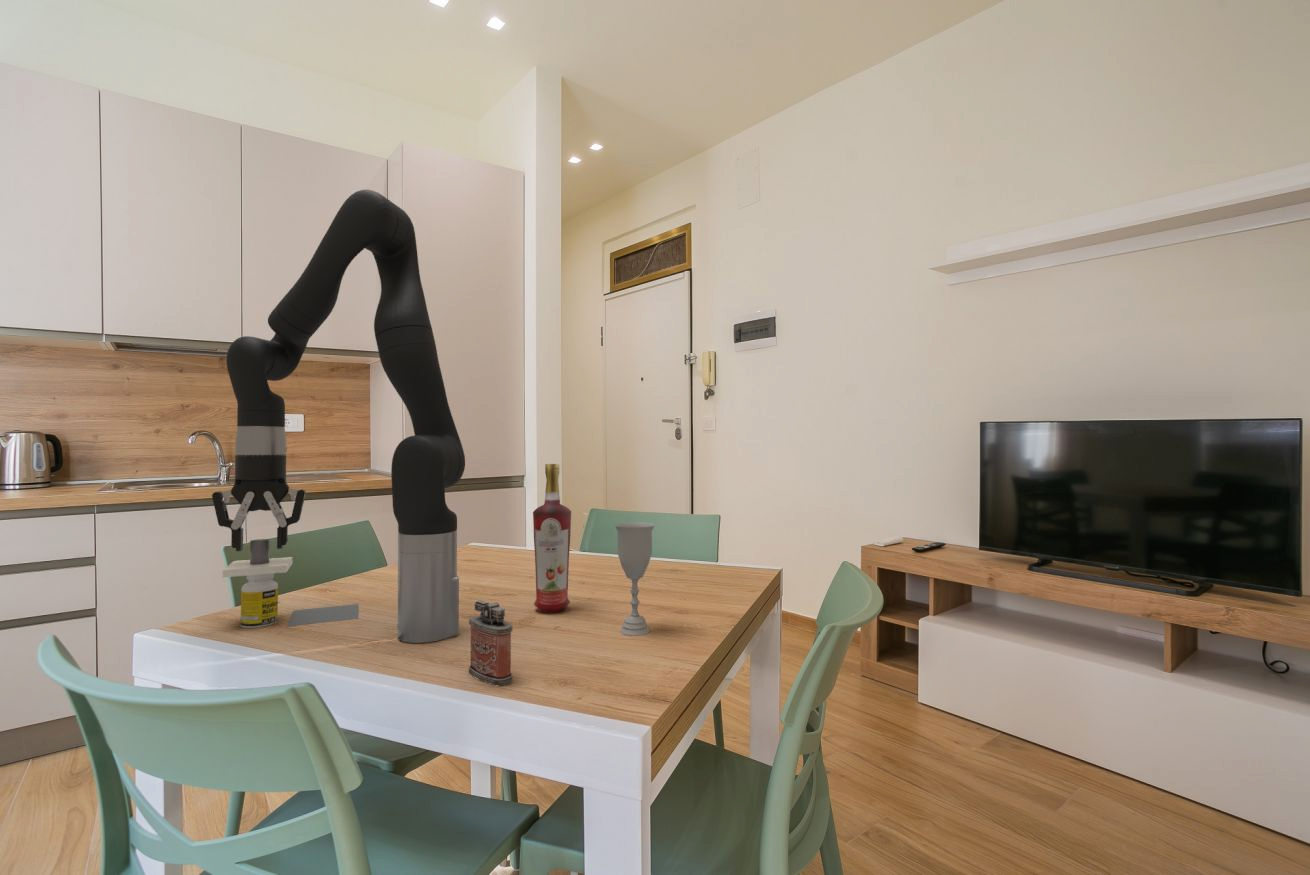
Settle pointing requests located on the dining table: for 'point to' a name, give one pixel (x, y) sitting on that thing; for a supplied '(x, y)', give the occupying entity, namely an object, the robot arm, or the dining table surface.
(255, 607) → the supplement bottle
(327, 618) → the mat
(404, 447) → the robot arm
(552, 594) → the liquor
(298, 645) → the dining table surface
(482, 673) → the lighter
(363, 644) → the dining table surface
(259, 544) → the lid
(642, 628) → the chalice
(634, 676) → the dining table surface
